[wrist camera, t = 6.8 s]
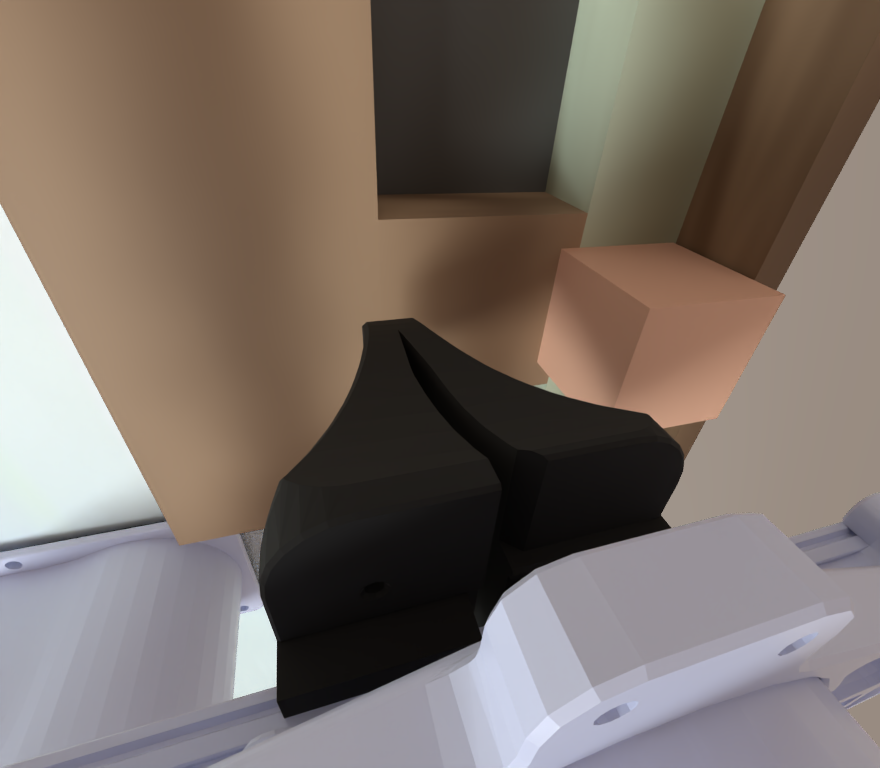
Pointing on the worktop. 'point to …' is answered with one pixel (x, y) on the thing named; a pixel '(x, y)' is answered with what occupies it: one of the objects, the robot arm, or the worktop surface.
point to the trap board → (386, 188)
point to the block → (652, 329)
